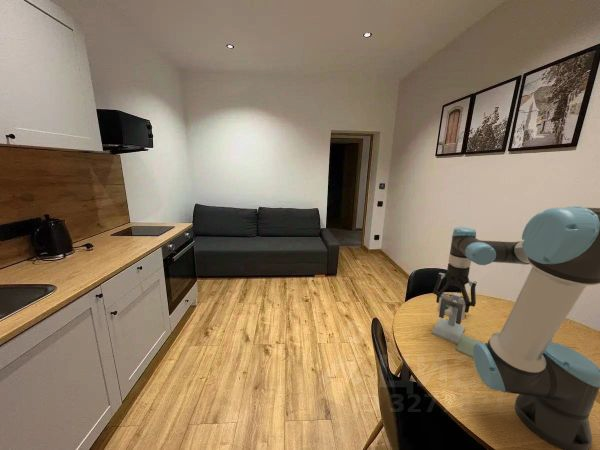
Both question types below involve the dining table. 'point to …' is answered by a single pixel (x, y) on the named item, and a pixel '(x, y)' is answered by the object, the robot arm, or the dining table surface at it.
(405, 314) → the dining table surface
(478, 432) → the dining table surface
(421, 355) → the dining table surface
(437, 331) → the stand
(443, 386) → the dining table surface
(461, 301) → the food container
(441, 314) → the link
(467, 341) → the mat
